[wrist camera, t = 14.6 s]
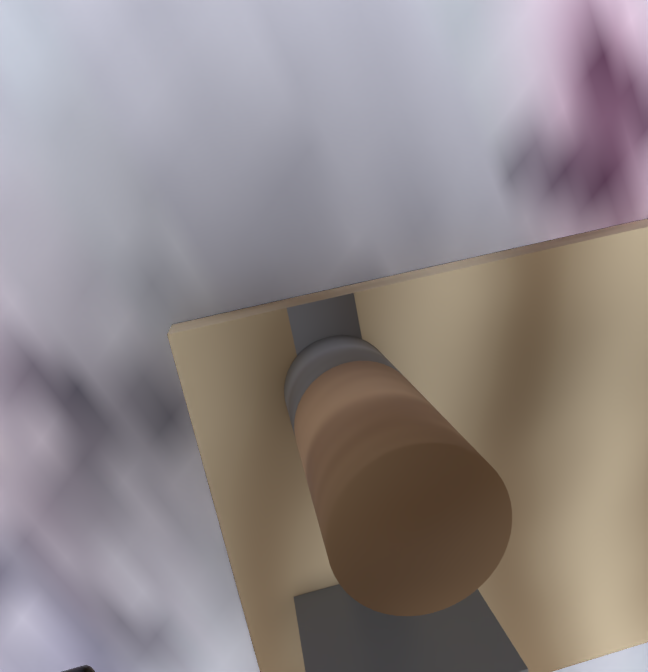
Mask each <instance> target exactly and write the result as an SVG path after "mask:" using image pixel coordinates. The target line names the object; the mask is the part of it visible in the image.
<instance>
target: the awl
mask: <svg viewBox="0 0 648 672" xmlns="http://www.w3.org/2000/svg"><path fill="white" fill-rule="evenodd" d="M284 397H285V402H286V406H287V410H288V414H289V417H290V421H291V425H292V428H293V432H294V436H295V439H296V443H297V447H298V450H299V454H300V458H301V461H302V465H303V469H304V472H305V476H306V480H307V483H308V487H309V491H310V494H311V498H312V502H313V505H314V509H315V513H316V516H317V520H318V523H319V527H320V531H321V534H322V538H323V542H324V545H325V549H326V553H327V556H328V560H329V564H330V567H331V569H332V571H333V574H334V576H335V578H336V579H337V581H338V582H339V584H340V585H341V587H342V588H343V589H344V590H345V591H346V593H347V594H349V595H350V596H351V597H352V598H353V599H354V600H356V601H357V602H359V603H360V604H362V605H363V606H365V607H367V608H370V609H372V610H374V611H377V612H380V613H384V614H388V615H394V616H419V615H425V614H430V613H434V612H437V611H440V610H443V609H446V608H448V607H450V606H452V605H455V604H456V603H458V602H460V601H462V600H463V599H465V598H466V597H468V596H469V595H471V594H472V593H473V592H475V591H476V590H477V589H478V588H479V587H480V586H481V585H482V584H483V583H484V582H485V581H486V580H487V579H488V578H489V577H490V576H491V574H492V573H493V572H494V570H495V569H496V567H497V566H498V564H499V563H500V561H501V559H502V557H503V555H504V553H505V550H506V548H507V546H508V542H509V539H510V535H511V528H512V507H511V500H510V497H509V494H508V490H507V488H506V486H505V484H504V482H503V480H502V479H501V477H500V476H499V474H498V473H497V471H496V470H495V469H494V468H493V467H492V466H491V465H490V464H489V463H488V462H487V461H486V460H485V459H484V458H483V457H482V456H481V455H480V454H479V453H478V452H477V451H476V450H475V449H474V447H473V446H472V445H471V444H470V443H469V442H468V441H467V440H466V439H465V438H464V437H463V436H462V435H461V434H460V433H459V432H458V431H457V430H456V429H455V428H454V427H453V426H452V425H451V424H450V423H449V422H448V421H447V420H446V419H445V418H444V417H443V416H442V415H441V414H440V413H439V412H438V411H437V410H436V409H435V407H434V406H433V405H432V404H431V403H430V402H429V401H428V400H427V399H426V398H425V397H424V396H423V395H422V394H421V393H420V392H419V391H418V390H417V389H416V388H415V387H414V386H413V385H412V384H411V383H410V382H409V381H408V380H407V379H406V378H405V377H404V376H403V375H402V374H401V373H400V372H399V371H398V370H397V368H396V367H395V366H394V365H393V364H392V363H391V362H390V361H389V360H388V359H387V358H386V357H385V356H384V355H383V354H382V353H381V352H380V351H379V350H378V349H377V348H376V347H374V346H373V345H372V344H370V343H369V342H367V341H365V340H363V339H361V338H357V337H354V336H348V335H335V336H329V337H325V338H322V339H320V340H317V341H315V342H314V343H312V344H310V345H309V346H307V347H306V348H305V349H303V350H302V351H301V352H300V353H299V354H298V356H297V357H296V358H295V359H294V361H293V362H292V364H291V366H290V368H289V370H288V372H287V375H286V379H285V384H284Z"/></svg>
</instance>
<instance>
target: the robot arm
mask: <svg viewBox="0 0 648 672" xmlns="http://www.w3.org/2000/svg"><path fill="white" fill-rule="evenodd" d="M62 672H95V671H94V670H93V668H92V667H90V666H87V665H84V666H80V667H76V668H73V669H69V670H66V671H62Z"/></svg>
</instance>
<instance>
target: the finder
mask: <svg viewBox="0 0 648 672" xmlns="http://www.w3.org/2000/svg"><path fill="white" fill-rule="evenodd" d="M294 603H295V609H296V616H297V622H298V628H299V634H300V641H301V647H302V653H303V659H304V666H305V672H529V671H528V668H527V666H526V665H525V663H524V661H523V660H522V658H521V657H520V655H519V653H518V652H517V650H516V649H515V647H514V646H513V644H512V642H511V641H510V639H509V638H508V636H507V635H506V633H505V631H504V630H503V628H502V627H501V625H500V623H499V622H498V620H497V619H496V617H495V616H494V614H493V612H492V611H491V609H490V608H489V606H488V605H487V603H486V601H485V600H484V598H483V597H482V595H481V593H480V592H479V590H478V589H477V590H476V591H475V592H473V593H472V594H471V595H469V596H468V597H466V598H465V599H463V600H462V601H460V602H458V603H456V604H455V605H452V606H450V607H448V608H446V609H443V610H440V611H437V612H434V613H430V614H425V615H419V616H394V615H388V614H384V613H380V612H377V611H374V610H372V609H370V608H367V607H365V606H363V605H362V604H360V603H359V602H357V601H356V600H354V599H353V598H352V597H351V596H350V595H349V594H347V593H346V591H345V590H344V589H343V588H342V587H341V585H340V584H338V585H334V586H331V587H327V588H324V589H320V590H316V591H313V592H309V593H306V594H302V595H298V596H295V597H294Z"/></svg>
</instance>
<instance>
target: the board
mask: <svg viewBox="0 0 648 672" xmlns="http://www.w3.org/2000/svg"><path fill="white" fill-rule="evenodd" d="M335 335H348V336H354V337H357V338H361V339H363V340H365V341H367V342H369V343H370V344H372V345H373V346H374V347H376V348H377V349H378V350H379V351H380V352H381V353H382V354H383V355H384V356H385V357H386V358H387V359H388V360H389V361H390V362H391V363H392V364H393V365H394V366H395V367H396V368H397V370H398V371H399V372H400V373H401V374H402V375H403V376H404V377H405V378H406V379H407V380H408V381H409V382H410V383H411V384H412V385H413V386H414V387H415V388H416V389H417V390H418V391H419V392H420V393H421V394H422V395H423V396H424V397H425V398H426V399H427V400H428V401H429V402H430V403H431V404H432V405H433V406H434V407H435V409H436V410H437V411H438V412H439V413H440V414H441V415H442V416H443V417H444V418H445V419H446V420H447V421H448V422H449V423H450V424H451V425H452V426H453V427H454V428H455V429H456V430H457V431H458V432H459V433H460V434H461V435H462V436H463V437H464V438H465V439H466V440H467V441H468V442H469V443H470V444H471V445H472V446H473V447H474V449H475V450H476V451H477V452H478V453H479V454H480V455H481V456H482V457H483V458H484V459H485V460H486V461H487V462H488V463H489V464H490V465H491V466H492V467H493V468H494V469H495V470H496V471H497V473H498V474H499V476H500V477H501V479H502V480H503V482H504V484H505V486H506V488H507V490H508V494H509V497H510V500H511V507H512V528H511V535H510V539H509V542H508V546H507V548H506V550H505V553H504V555H503V557H502V559H501V561H500V563H499V564H498V566H497V567H496V569H495V570H494V572H493V573H492V574H491V576H490V577H489V578H488V579H487V580H486V581H485V582H484V583H483V584H482V585H481V586H480V587H479V588H478V590H479V592H480V593H481V595H482V597H483V598H484V600H485V601H486V603H487V605H488V606H489V608H490V609H491V611H492V612H493V614H494V616H495V617H496V619H497V620H498V622H499V623H500V625H501V627H502V628H503V630H504V631H505V633H506V635H507V636H508V638H509V639H510V641H511V642H512V644H513V646H514V647H515V649H516V650H517V652H518V653H519V655H520V657H521V658H522V660H523V661H524V663H525V665H526V666H527V668H528V671H529V672H552V671H555V670H559V669H562V668H565V667H568V666H572V665H575V664H578V663H581V662H585V661H588V660H591V659H594V658H598V657H601V656H604V655H607V654H611V653H614V652H617V651H620V650H624V649H627V648H630V647H633V646H637V645H640V644H643V643H647V642H648V219H644V220H639V221H635V222H630V223H626V224H621V225H617V226H612V227H608V228H603V229H599V230H594V231H590V232H585V233H581V234H576V235H572V236H567V237H563V238H558V239H554V240H549V241H545V242H540V243H536V244H531V245H527V246H522V247H518V248H513V249H509V250H504V251H500V252H495V253H491V254H486V255H482V256H478V257H473V258H469V259H464V260H460V261H455V262H451V263H446V264H442V265H437V266H433V267H428V268H424V269H419V270H415V271H410V272H406V273H401V274H397V275H392V276H388V277H383V278H379V279H374V280H370V281H365V282H361V283H356V284H352V285H347V286H343V287H338V288H334V289H329V290H325V291H321V292H316V293H312V294H307V295H303V296H298V297H294V298H289V299H285V300H280V301H276V302H271V303H267V304H262V305H258V306H253V307H249V308H244V309H240V310H235V311H231V312H226V313H222V314H217V315H213V316H208V317H204V318H199V319H195V320H190V321H186V322H181V323H177V324H172V325H171V327H170V330H169V332H168V334H167V336H168V339H169V343H170V347H171V350H172V354H173V358H174V361H175V365H176V368H177V372H178V376H179V379H180V383H181V386H182V390H183V394H184V397H185V401H186V405H187V408H188V412H189V415H190V419H191V423H192V426H193V430H194V434H195V437H196V441H197V444H198V448H199V452H200V455H201V459H202V463H203V466H204V470H205V473H206V477H207V481H208V484H209V488H210V492H211V495H212V499H213V502H214V506H215V510H216V513H217V517H218V521H219V524H220V528H221V531H222V535H223V539H224V542H225V546H226V550H227V553H228V557H229V560H230V564H231V568H232V571H233V575H234V579H235V582H236V586H237V589H238V593H239V597H240V600H241V604H242V608H243V611H244V615H245V618H246V622H247V626H248V629H249V633H250V637H251V640H252V644H253V647H254V651H255V655H256V658H257V662H258V666H259V669H260V672H305V666H304V659H303V653H302V647H301V641H300V634H299V628H298V622H297V616H296V609H295V603H294V597H295V596H298V595H302V594H306V593H309V592H313V591H316V590H320V589H324V588H327V587H331V586H334V585H338V584H339V582H338V581H337V579H336V578H335V576H334V574H333V571H332V569H331V567H330V564H329V560H328V556H327V553H326V549H325V545H324V542H323V538H322V534H321V531H320V527H319V523H318V520H317V516H316V513H315V509H314V505H313V502H312V498H311V494H310V491H309V487H308V483H307V480H306V476H305V472H304V469H303V465H302V461H301V458H300V454H299V450H298V447H297V443H296V439H295V436H294V432H293V428H292V425H291V421H290V417H289V414H288V410H287V406H286V402H285V397H284V384H285V379H286V375H287V372H288V370H289V368H290V366H291V364H292V362H293V361H294V359H295V358H296V357H297V356H298V354H299V353H300V352H301V351H302V350H303V349H305V348H306V347H307V346H309V345H310V344H312V343H314V342H315V341H317V340H320V339H322V338H325V337H329V336H335Z"/></svg>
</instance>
